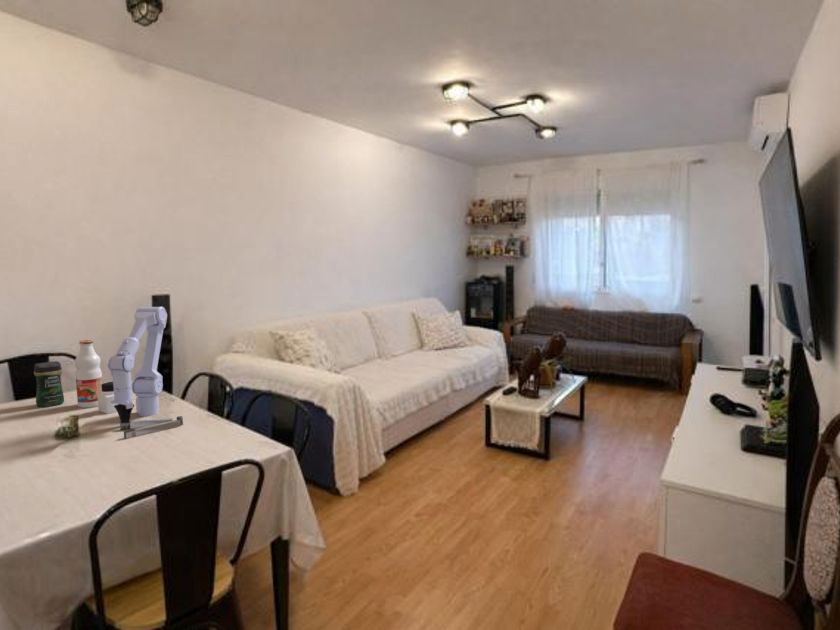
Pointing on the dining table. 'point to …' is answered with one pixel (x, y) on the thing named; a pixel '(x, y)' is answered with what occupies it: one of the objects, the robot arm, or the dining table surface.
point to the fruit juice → (88, 375)
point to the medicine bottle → (106, 398)
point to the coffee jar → (48, 384)
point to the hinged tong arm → (142, 423)
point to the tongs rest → (154, 428)
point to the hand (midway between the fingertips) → (125, 423)
